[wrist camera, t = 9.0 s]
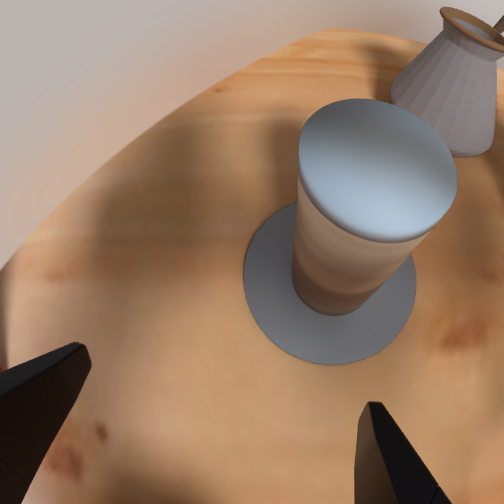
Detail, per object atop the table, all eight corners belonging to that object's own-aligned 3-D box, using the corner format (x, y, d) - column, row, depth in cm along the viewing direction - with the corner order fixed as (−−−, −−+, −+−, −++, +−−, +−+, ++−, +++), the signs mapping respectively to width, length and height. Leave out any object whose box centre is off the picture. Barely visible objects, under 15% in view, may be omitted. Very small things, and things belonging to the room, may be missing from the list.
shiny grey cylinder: (365, 325, 19) (460, 250, 8) (281, 303, 20) (278, 200, 9) (379, 247, 20) (450, 123, 10) (303, 227, 22) (315, 86, 11)
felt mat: (386, 387, 17) (389, 387, 17) (216, 326, 20) (214, 324, 20) (424, 231, 21) (427, 227, 21) (281, 182, 24) (280, 177, 23)
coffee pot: (451, 192, 22) (531, 57, 9) (361, 112, 27) (384, -27, 13) (517, 121, 26) (560, 38, 12) (454, 68, 30) (480, -18, 16)
